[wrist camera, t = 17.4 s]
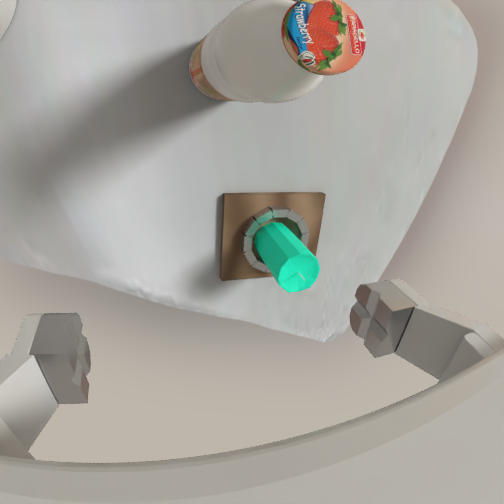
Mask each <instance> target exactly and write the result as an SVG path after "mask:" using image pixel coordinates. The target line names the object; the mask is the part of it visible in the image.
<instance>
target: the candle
mask: <svg viewBox="0 0 504 504" xmlns="http://www.w3.org/2000/svg"><path fill="white" fill-rule="evenodd" d="M254 244H255V247H256V250H257V252H258V253H259V255H260V256H261V258H262V260H263V261H264V263H265V264H266V266H267V267H268V269H269V270H270V272H271V273H272V275H273V276H274V278H275V279H276V281H277V282H278V284H279V285H280V286H281V287H282V288H283V289H285V290H286V291H287V292H298V291H301V290H304V289H308V288H310V287H311V285H312V284H313V283H314V282H315V281H316V279H317V277H318V274H319V270H320V267H319V263H318V259H317V258H316V257H315V256H314V255H313V254H312V253H311V252H310V251H309V250H308V249H307V247H306V246H305V245H304V244H303V243H302V242H301V241H300V240H299V239H298V238H297V237H296V236H295V235H294V234H293V233H292V232H291V231H290V230H289V229H288V228H287V227H286V226H285V225H284V224H282V223H278V222H271V223H268V224H266V225H264V226H262V227H261V229H260V230H259V231H258V232H257V233H256V236H255V241H254Z"/></svg>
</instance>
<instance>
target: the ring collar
mask: <svg viewBox="0 0 504 504" xmlns="http://www.w3.org/2000/svg"><path fill="white" fill-rule="evenodd" d="M253 216H254V217H252V216H251V218H250V219H249V221H248V222H247V224H246V225H245V227H244V228H243V230H242V231H243V232H242V236H241V249H242V251H243V253H244V254H245V256H246V258H247V260H248V261H249V263H250V265H252V267H254V268H256V269H259V270H261V271H263V272H265V271H266V273H267V272H270V270H269V269H268V267H267V266H266V264H265V263H264V261H263V260H262V259H260V258H258V257H256V256H254V254H253V252H252V250H251V249H252V237H253V236H254V234H255V233H256V231H257V230H258V228H259V226H260V225H261V224H263V223H265V222H267V221H268V220H270V219H272V218H276V217H288V218H289V219H291V220H293V221H294V222H295V224H296V227H297V229H298V234H297V238H298V239H299V240H300V241H301V242H302V243H303V244H304V245H305V246H306V247H307V244H308V238H309V230H308V227H307V225H306V223H305V220H304V218H303V217H302V216H301V215H299V214H298V213H297V212H295V211H293V210H292V209H290V208H289V207H287V206H269V208H268V207H266V208H264V209H263V210H261V211H259V212H257V213H256V214H254V215H253Z"/></svg>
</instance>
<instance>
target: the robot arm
mask: <svg viewBox="0 0 504 504" xmlns="http://www.w3.org/2000/svg"><path fill="white" fill-rule="evenodd" d="M16 2H17V0H0V39H1V38H2V36H3V35H4V33H5V32H6V30H7V28H8V26H9V24H10V22H11V20H12V18H13V15H14V12H15V8H16ZM355 297H356V299H357V302H356V303H355V304H354V306H353V307H352V308H351V312H350V325H351V327H352V330H353V331H354V332H355V334H356V335H357V336H359V337H361V338H363V339H364V345H365V346H366V348H367V349H368V350H369V351H370V353H371V354H372V355H373V356H374V358H376V357H380V356H384V355H387V354H391V353H395V352H396V353H395V354H397V355H398V356H400V357H402V358H404V359H405V360H407V361H408V362H410V363H412V364H413V365H415V366H417V367H419V368H420V369H422V370H424V371H425V372H427V373H429V374H430V375H432V376H434V377H435V378H437V379H439V382H438V383H437V384H436V385H434V386H432V387H430V388H428V389H426V390H424V391H421V392H419V393H417V394H415V395H413V396H410V397H408V398H406V399H403V400H401V401H399V402H396V403H394V404H392V405H389V406H387V407H384V408H381V409H379V410H376V411H374V412H371V413H368V414H366V415H363V416H360V417H358V418H355V419H352V420H349V421H346V422H343V423H340V424H337V425H334V426H331V427H327V428H324V429H321V430H318V431H314V432H311V433H308V434H304V435H301V436H296V437H293V438H289V439H285V440H281V441H277V442H273V443H268V444H264V445H259V446H255V447H250V448H245V449H240V450H234V451H229V452H223V453H217V454H211V455H204V456H196V457H188V458H180V459H170V460H160V461H146V462H126V463H73V462H54V461H42V460H35V459H34V457H33V456H32V455H31V454H30V453H29V452H28V450H29V449H30V447H31V446H32V444H33V443H34V441H35V440H36V438H37V437H38V435H39V434H40V432H41V431H42V429H43V428H44V427H45V425H46V424H47V422H48V421H49V419H50V418H51V416H52V415H53V413H54V412H55V411H56V409H57V408H58V406H59V405H58V404H78V403H79V404H80V403H88V390H89V383H88V380H87V378H86V375H87V374H88V373H89V372H90V365H91V361H90V350H89V346H88V342H87V338H86V337H85V336H83V335H82V334H81V331H82V326H83V325H82V322H81V319H80V316H79V314H78V313H45V314H28V315H26V316H25V318H24V321H23V323H22V326H21V329H20V331H19V334H18V336H17V339H16V342H15V345H14V348H13V350H12V353H11V355H5V356H4V357H3V358H2V359H1V360H0V504H504V339H503V338H502V337H501V336H500V335H499V334H497V333H496V332H495V331H494V330H493V329H492V328H491V327H490V326H489V325H487V324H485V323H482V322H480V321H477V320H475V319H472V318H470V317H467V316H465V315H462V314H460V313H457V312H455V311H452V310H449V309H446V308H444V307H442V306H439V305H436V304H434V303H427V301H425V300H424V299H423V298H422V297H421V296H420V295H419V294H417V293H416V292H415V291H414V290H413V289H412V288H411V287H410V286H408V285H407V284H406V283H405V282H404V281H402V280H401V279H398V278H394V279H389V280H385V281H381V282H374V283H368V284H362V285H360V286H359V287H358V289H357V291H356V294H355Z"/></svg>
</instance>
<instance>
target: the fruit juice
mask: <svg viewBox="0 0 504 504" xmlns="http://www.w3.org/2000/svg"><path fill="white" fill-rule="evenodd" d="M364 49H365V31H364V28H363V25H362V23H361V21H360V19H359V17H358V16H357V14H356V13H355V12H354V11H353V10H352V9H351V8H350V7H349V6H348V5H347V4H345V3H344V2H342V1H340V0H300V1H298V2H295V1H292V0H251V1H248V2H246V3H244V4H242V5H240V6H239V7H237V8H236V9H234V10H233V11H232V12H231V13H230V14H229V15H228V16H227V17H226V18H225V19H223V20H222V21H221V22H219V23H218V24H217V25H215V26H214V27H213V28H212V30H211V31H210V32H209V33H208V34H207V35H206V36H205V37H204V38H203V40H202V41H201V42H200V43H199V44H198V45H197V46H196V48H195V49H194V51H193V52H192V55H191V57H190V62H189V72H190V76H191V79H192V81H193V83H194V85H195V86H196V87H197V88H198V90H199V91H201V92H202V93H203V94H205V95H206V96H208V97H210V98H213V99H217V100H227V101H239V102H247V103H253V102H264V103H283V102H289V101H293V100H296V99H298V98H301V97H303V96H305V95H306V94H308V93H309V92H311V91H312V90H313V89H314V88H316V87H317V85H318V84H319V83H320V82H321V81H322V79H323V78H324V76H325V75H335V74H339V73H343V72H345V71H348V70H349V69H351V68H353V67H354V66H355V65H356V64H357V63H358V62H359V60H360V59H361V57H362V55H363V53H364Z"/></svg>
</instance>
